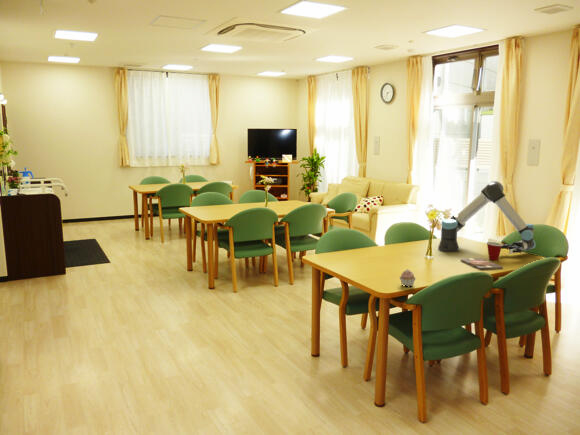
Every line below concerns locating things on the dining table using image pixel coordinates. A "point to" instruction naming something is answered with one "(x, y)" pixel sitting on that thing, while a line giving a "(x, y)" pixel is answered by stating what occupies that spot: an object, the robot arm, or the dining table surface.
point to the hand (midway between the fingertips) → (500, 250)
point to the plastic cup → (494, 250)
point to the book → (481, 264)
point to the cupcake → (407, 278)
